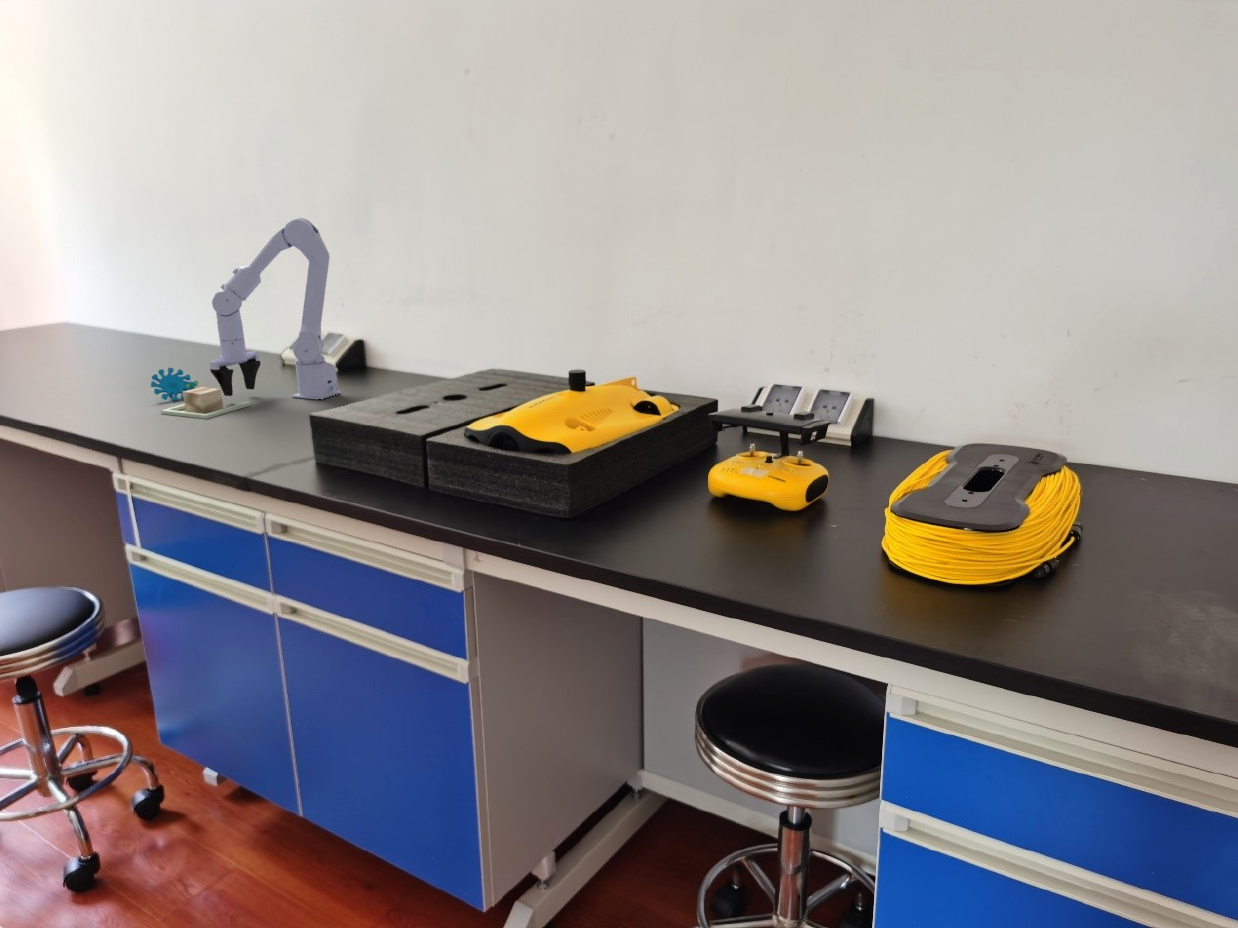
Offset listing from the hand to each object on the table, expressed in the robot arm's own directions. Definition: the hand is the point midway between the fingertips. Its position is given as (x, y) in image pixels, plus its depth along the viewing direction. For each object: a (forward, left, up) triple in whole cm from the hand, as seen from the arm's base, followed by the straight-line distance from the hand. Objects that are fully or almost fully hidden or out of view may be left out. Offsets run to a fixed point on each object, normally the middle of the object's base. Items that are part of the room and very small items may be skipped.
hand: (239, 392), depth 231 cm
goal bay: (0, +11, -2) cm, 11 cm away
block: (0, +12, -2) cm, 12 cm away
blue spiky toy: (+17, +5, -2) cm, 17 cm away
